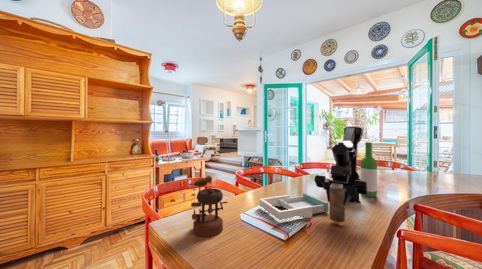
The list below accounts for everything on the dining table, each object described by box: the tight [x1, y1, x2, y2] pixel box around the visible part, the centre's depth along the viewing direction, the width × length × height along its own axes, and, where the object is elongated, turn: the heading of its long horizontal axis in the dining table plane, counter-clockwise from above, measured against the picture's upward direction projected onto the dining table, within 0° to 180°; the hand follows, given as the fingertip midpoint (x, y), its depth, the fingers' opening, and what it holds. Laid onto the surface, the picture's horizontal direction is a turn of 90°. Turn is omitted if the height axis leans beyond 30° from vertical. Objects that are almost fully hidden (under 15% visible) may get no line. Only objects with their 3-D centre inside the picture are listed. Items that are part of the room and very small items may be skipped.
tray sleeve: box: [258, 194, 313, 220], centre depth 86 cm, size 16×17×4 cm
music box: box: [188, 175, 228, 239], centre depth 71 cm, size 15×11×20 cm
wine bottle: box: [360, 141, 378, 198], centre depth 110 cm, size 8×8×30 cm
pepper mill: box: [329, 183, 346, 223], centre depth 75 cm, size 5×5×14 cm
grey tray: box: [279, 192, 329, 215], centre depth 89 cm, size 16×15×4 cm
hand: (336, 203), depth 74 cm, fingers closed on pepper mill, 5 cm apart
